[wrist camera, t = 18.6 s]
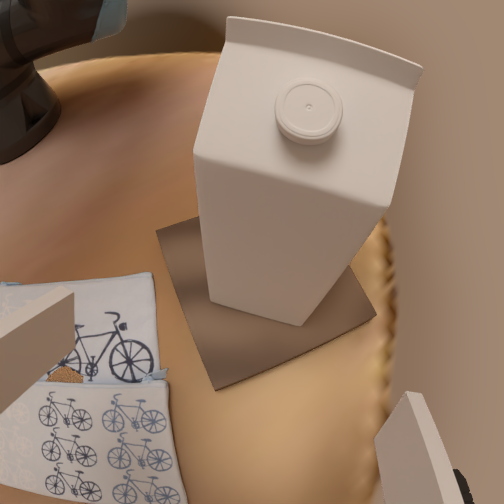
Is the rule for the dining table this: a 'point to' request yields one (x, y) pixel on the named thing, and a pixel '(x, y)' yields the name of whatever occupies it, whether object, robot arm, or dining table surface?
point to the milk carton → (295, 162)
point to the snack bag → (96, 403)
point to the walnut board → (251, 315)
